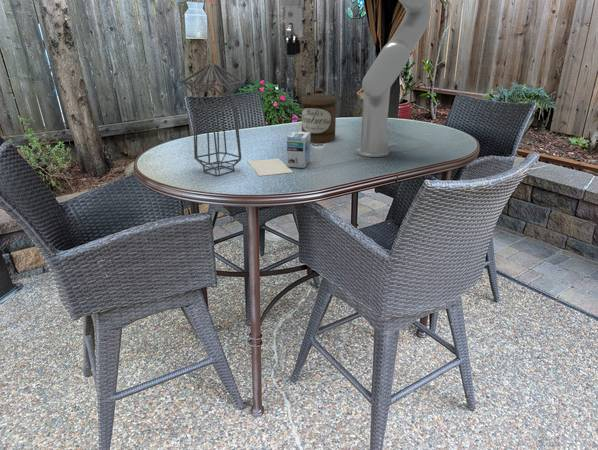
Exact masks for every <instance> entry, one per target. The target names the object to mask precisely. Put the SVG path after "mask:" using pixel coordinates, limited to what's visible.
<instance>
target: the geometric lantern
mask: <svg viewBox="0 0 598 450" xmlns="http://www.w3.org/2000/svg"><path fill="white" fill-rule="evenodd" d="M210 74H211V75H210ZM197 75H198V76H197ZM195 76H196V78H195V79H194V80H193V81H192V80H190V79H192V78H194V77H195ZM205 76H206V77H205ZM229 76H230V77H231V78H233V79H234V80H236V81H233V80H232V79H231V78H230V77H229ZM204 77H205V80H204V81H203V79H204ZM213 77H214V79H213ZM219 81H220V82H221V83H222V84H220V82H219ZM216 82H217V83H216ZM181 83H183V85H184V86H185V87H186V89H188V90H189V91H190V93H191V95H192V96H191V97H192V98H194V96H195V95H197V96H196V100H195V102H194V101H192V121H193V122H192V123H193V125H192V126H193V155H194V157H193V158H194V160H196V161H197V162H198V163H199V164H200V165H201V166H202V168H203V169H202V171H203V173H205V174H209V175H211V176H215V177H220V176H223V175H226V174H229V173H233V172H235V166H236V165H238V163H239V162H240V161H242V150H241V139H240V130H239V129H240V127H239V119H238V110H237V108H238V106H237V105H235V101H234V95H233V93H236V91H237V90H238V89H239V88H240V87H241V85H243V84H246V81H244V80H242V79H241V78H239V77H238V76H236V75H234V74H233V73H231V72H229V71H228V70H226V69H224V68H223V67H221V66H219V65H218V64H216V63H208V64H207V65H205V66H203V67H202V68H200V69H199V70H197V71H195V72H194V73H192V74H191V75H190V76H187V78H185V79H183V80H182V81H181ZM205 86H206V88H205V89H204V87H205ZM208 86H209V87H208ZM215 86H217V87H219V88H220V90H218V89H217V88H216V87H215ZM232 86H234V87H233V88H232ZM197 87H198V88H197ZM222 87H225V89H226V90H227V92H224V93H223V91H222V90H223V89H222ZM211 88H212V89H213V90H215V92H217V94H218V95H217V97H216V98H215V99H214V98H213V96H212V95H211V94H210V92H209V91H210V89H211ZM193 89H194V91H195V92H194V91H193ZM201 92H206V93H207V95H208V96H209V97H210V98H211V99H212V101H213V103H208V104H206V103H205V102H204V100H203V98H202V97H201V95H200V93H201ZM220 96H222V97H223V96H224V98H223V100H222V102H221V103H217V100H218V99H219V97H220ZM227 96H229V99H230V101H231V104H230V105H229V104H224V103H225V102H226V99H227ZM199 100H200V101H201V103H202V104H201V105H198V103H199ZM194 103H195V105H194ZM208 106H211V107H210V108H208ZM214 106H216V108H214V109H212V108H213V107H214ZM219 106H221V107H220V108H219ZM224 106H226V107H224ZM202 107H204V108H202ZM198 110H204V111H205V113H206V114H205V115H206V133H207V134H206V136H207V141H206V142H207V154H203V155H198ZM224 110H233V111H232V112H233V119H234V120H233V121H234V127H235V129H234V130H235V135H236V136H235V137H236V143H237V153H238V154H237V155H236V154H234V153H233V154H232V153H229V152H228V151H227V142H226V141H227V139H226V127H225V117H224V116H225V115H224ZM209 111H210V113H211V122H212V129H213V139H214V149H215V150H214V151H215V152H212V153H210V152H211V151H210V149H211V148H210V134H209V132H210V126H209ZM214 111H216V125H215V120H214ZM219 111H221V118H222V130H223V131H222V132H223V140H224V141H223V142H224V151H223V152H221V151H220V133H219V132H220V131H219V130H220V129H219V127H220V126H219V125H220V124H219V123H220V122H219ZM215 126H216V128H215ZM216 129H217V130H216ZM216 135H217V137H216ZM220 154H222V155H223V157H222V159H220ZM214 155H215V159H216V161H214V162H211V156H214ZM227 155H228V156H232V157H235V159H232V160H225V161H224V159H225V157H226V156H227ZM204 157H207V160H208V161H205V160H202V159H200V158H204ZM236 158H237V159H236ZM233 162H234V163H233ZM223 164H226V165H229V166H224V165H223ZM213 165H216V166H213ZM231 167H232V168H231ZM205 168H206V169H205ZM222 169H229V170H231V171H227V172H224V173H221V171H220V170H222ZM209 170H214V172H215V174H214V173H212V172H210V171H209ZM208 171H209V172H208ZM217 171H218V172H217ZM217 173H218V174H217Z"/></svg>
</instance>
